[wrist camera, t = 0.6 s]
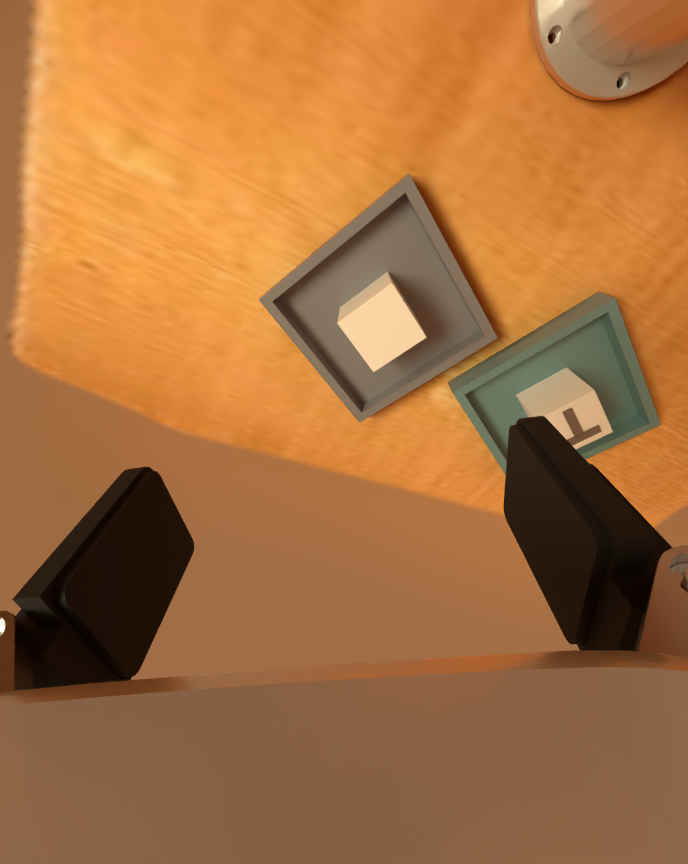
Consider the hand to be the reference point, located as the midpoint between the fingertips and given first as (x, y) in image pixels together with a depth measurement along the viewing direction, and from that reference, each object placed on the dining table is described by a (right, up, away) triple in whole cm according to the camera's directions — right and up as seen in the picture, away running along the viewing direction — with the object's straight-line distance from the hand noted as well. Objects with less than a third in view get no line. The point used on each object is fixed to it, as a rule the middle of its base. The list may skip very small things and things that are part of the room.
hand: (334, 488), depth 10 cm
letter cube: (+21, +5, +27) cm, 35 cm away
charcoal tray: (+3, +12, +24) cm, 27 cm away
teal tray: (+21, +5, +28) cm, 35 cm away
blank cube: (+3, +12, +23) cm, 27 cm away
